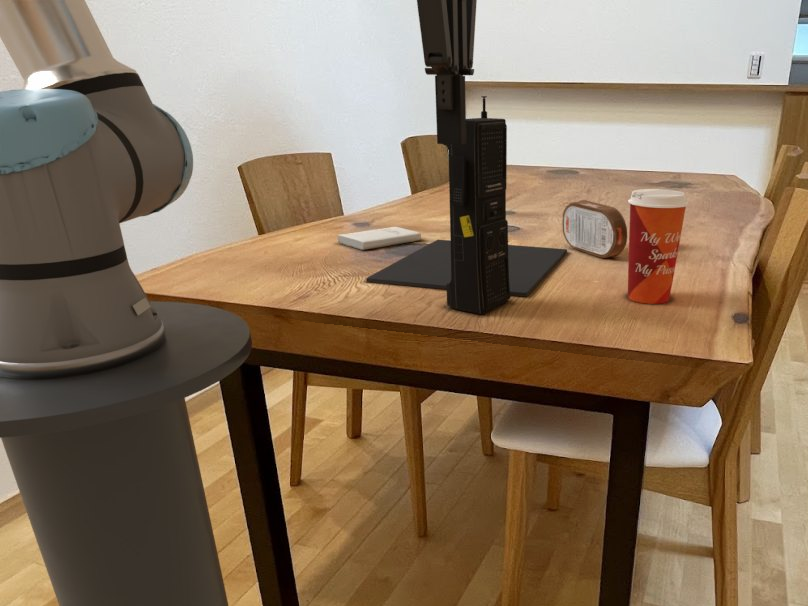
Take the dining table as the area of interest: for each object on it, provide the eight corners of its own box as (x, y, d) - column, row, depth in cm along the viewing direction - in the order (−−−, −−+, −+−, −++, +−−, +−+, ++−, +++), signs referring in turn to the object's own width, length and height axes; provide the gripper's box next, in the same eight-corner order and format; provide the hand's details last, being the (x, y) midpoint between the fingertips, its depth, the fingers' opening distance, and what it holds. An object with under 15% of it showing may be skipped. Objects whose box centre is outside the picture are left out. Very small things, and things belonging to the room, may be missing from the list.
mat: (366, 282, 96) (365, 278, 95) (437, 242, 120) (437, 239, 120) (526, 297, 90) (526, 292, 89) (567, 252, 114) (567, 249, 114)
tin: (626, 261, 109) (631, 209, 106) (612, 263, 108) (616, 210, 104) (572, 243, 121) (574, 196, 117) (558, 245, 119) (560, 197, 116)
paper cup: (639, 308, 86) (650, 198, 80) (609, 292, 92) (617, 189, 86) (689, 302, 88) (703, 195, 83) (657, 287, 95) (668, 187, 89)
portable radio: (480, 318, 81) (479, 97, 71) (440, 310, 84) (434, 96, 74) (512, 302, 87) (516, 97, 77) (474, 295, 90) (472, 95, 80)
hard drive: (338, 243, 119) (394, 234, 127) (363, 251, 113) (421, 240, 121) (337, 234, 118) (394, 225, 126) (363, 241, 113) (420, 231, 121)
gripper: (458, -159, 53) (464, 149, 63) (504, -115, 65) (503, 140, 74) (374, -151, 55) (392, 147, 65) (433, -110, 67) (441, 138, 76)
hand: (451, 143), depth 70 cm, fingers closed
